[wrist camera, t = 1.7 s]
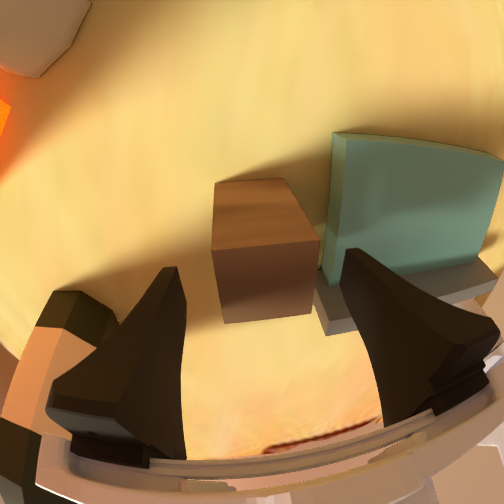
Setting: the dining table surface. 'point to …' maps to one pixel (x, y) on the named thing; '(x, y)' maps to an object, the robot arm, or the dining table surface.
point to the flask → (37, 33)
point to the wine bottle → (45, 388)
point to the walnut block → (262, 251)
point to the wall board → (407, 217)
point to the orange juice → (3, 114)
